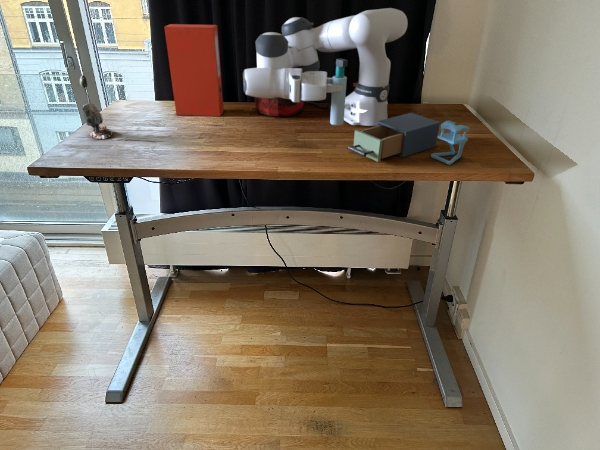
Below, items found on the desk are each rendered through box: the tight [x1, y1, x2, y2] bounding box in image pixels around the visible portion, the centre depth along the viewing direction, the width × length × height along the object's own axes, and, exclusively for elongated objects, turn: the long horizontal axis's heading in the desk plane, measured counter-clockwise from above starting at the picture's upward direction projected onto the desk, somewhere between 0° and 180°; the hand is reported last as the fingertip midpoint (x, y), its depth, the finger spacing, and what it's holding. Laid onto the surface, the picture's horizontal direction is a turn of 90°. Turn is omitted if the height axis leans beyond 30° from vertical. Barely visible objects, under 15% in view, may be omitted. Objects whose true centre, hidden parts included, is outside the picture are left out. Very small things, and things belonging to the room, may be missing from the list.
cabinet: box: [377, 112, 441, 158], centre depth 144 cm, size 16×12×8 cm
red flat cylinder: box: [254, 97, 305, 118], centre depth 175 cm, size 20×8×20 cm
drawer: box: [347, 125, 405, 163], centre depth 137 cm, size 20×11×7 cm, turn 126°
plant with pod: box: [79, 74, 113, 140], centre depth 144 cm, size 8×11×20 cm
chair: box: [430, 120, 470, 166], centre depth 135 cm, size 8×8×12 cm
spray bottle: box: [329, 58, 349, 126], centre depth 130 cm, size 4×4×19 cm
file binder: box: [164, 23, 225, 117], centre depth 165 cm, size 8×17×32 cm, turn 89°
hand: (342, 85), depth 129 cm, fingers closed on spray bottle, 4 cm apart
